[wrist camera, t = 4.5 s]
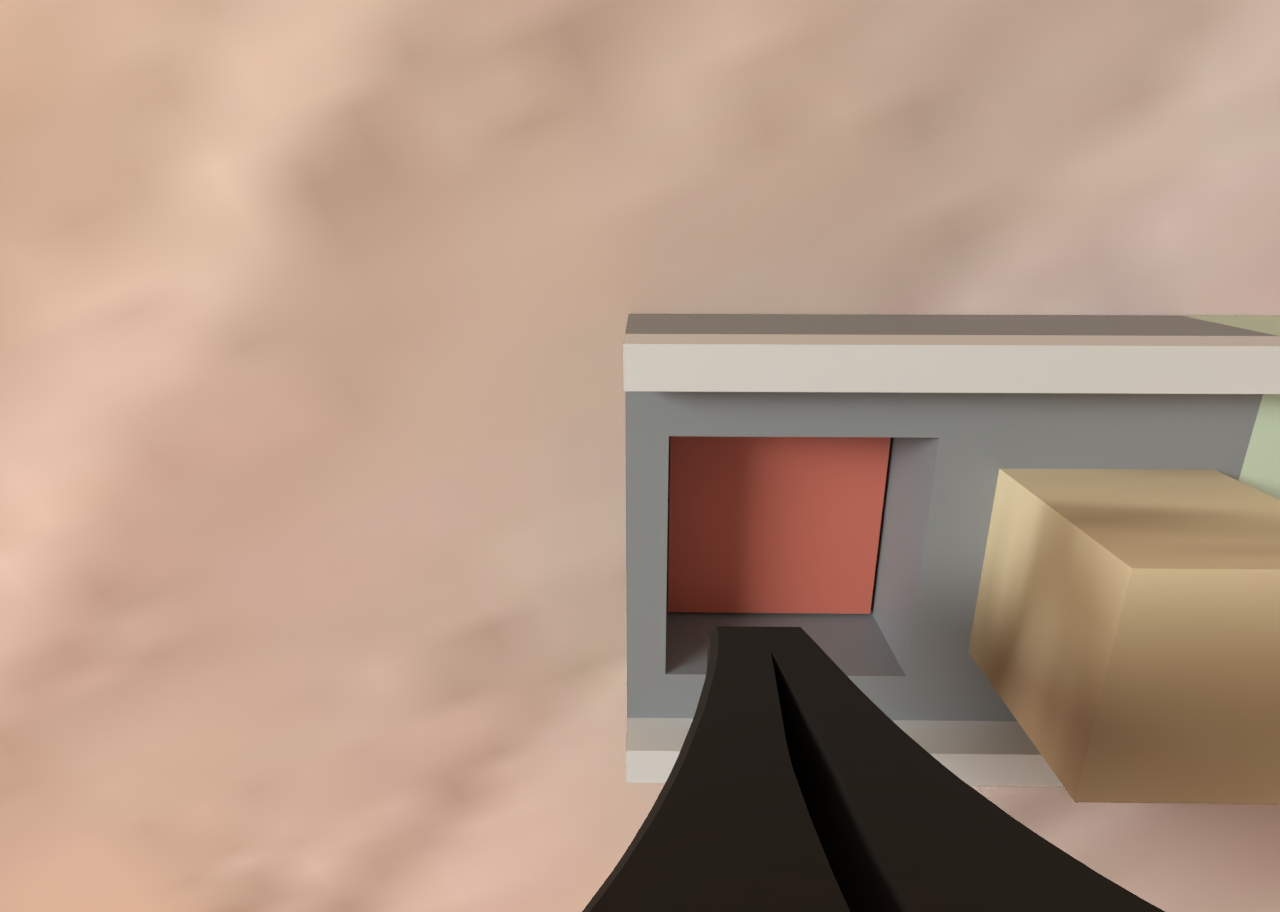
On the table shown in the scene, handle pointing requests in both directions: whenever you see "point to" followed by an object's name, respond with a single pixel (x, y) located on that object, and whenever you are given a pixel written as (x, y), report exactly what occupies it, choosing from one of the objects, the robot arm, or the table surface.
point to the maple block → (1137, 630)
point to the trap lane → (892, 489)
